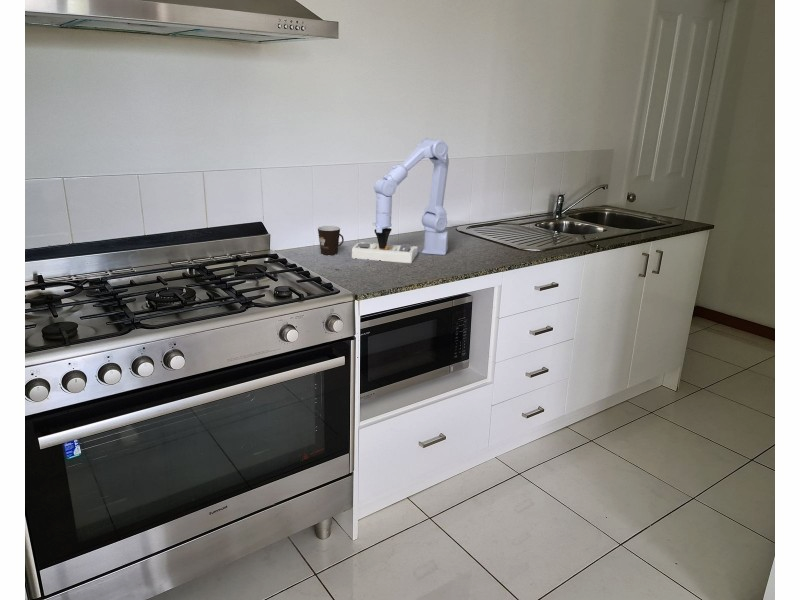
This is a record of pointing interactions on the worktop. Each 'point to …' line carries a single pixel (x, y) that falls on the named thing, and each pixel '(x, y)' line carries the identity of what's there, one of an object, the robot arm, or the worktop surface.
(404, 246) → the rocker
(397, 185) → the robot arm
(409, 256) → the power strip
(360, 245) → the rocker
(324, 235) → the coffee mug
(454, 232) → the worktop surface
